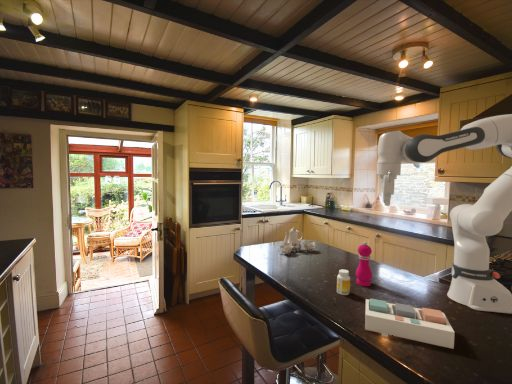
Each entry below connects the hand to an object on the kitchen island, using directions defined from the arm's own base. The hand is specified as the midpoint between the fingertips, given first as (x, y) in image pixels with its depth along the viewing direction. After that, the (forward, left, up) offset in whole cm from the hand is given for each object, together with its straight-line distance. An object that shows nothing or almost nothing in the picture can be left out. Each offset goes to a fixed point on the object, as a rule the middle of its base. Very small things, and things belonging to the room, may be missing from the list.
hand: (386, 204), depth 108 cm
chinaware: (+51, -50, -39) cm, 81 cm away
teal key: (+3, +22, -35) cm, 42 cm away
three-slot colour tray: (-5, +23, -39) cm, 46 cm away
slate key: (-5, +22, -35) cm, 42 cm away
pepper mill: (+8, -11, -39) cm, 41 cm away
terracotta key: (-13, +22, -35) cm, 44 cm away
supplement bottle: (+16, +3, -39) cm, 42 cm away
